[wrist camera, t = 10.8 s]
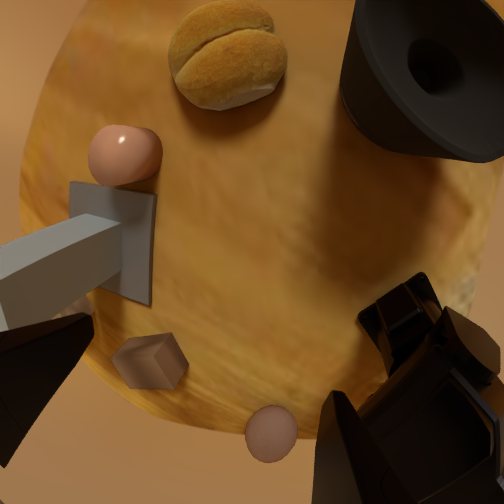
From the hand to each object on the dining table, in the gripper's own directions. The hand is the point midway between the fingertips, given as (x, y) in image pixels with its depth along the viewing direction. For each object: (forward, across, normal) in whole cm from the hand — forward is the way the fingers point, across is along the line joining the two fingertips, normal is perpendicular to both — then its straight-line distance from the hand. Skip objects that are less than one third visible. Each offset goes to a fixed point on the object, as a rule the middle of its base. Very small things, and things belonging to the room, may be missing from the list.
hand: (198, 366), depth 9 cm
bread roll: (+14, +5, -14) cm, 20 cm away
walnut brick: (+13, +8, +14) cm, 21 cm away
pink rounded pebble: (+13, +11, -5) cm, 18 cm away
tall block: (+12, +14, +3) cm, 19 cm away
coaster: (+13, +14, +3) cm, 19 cm away
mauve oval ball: (+13, -5, +17) cm, 22 cm away
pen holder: (+13, -7, -13) cm, 20 cm away
